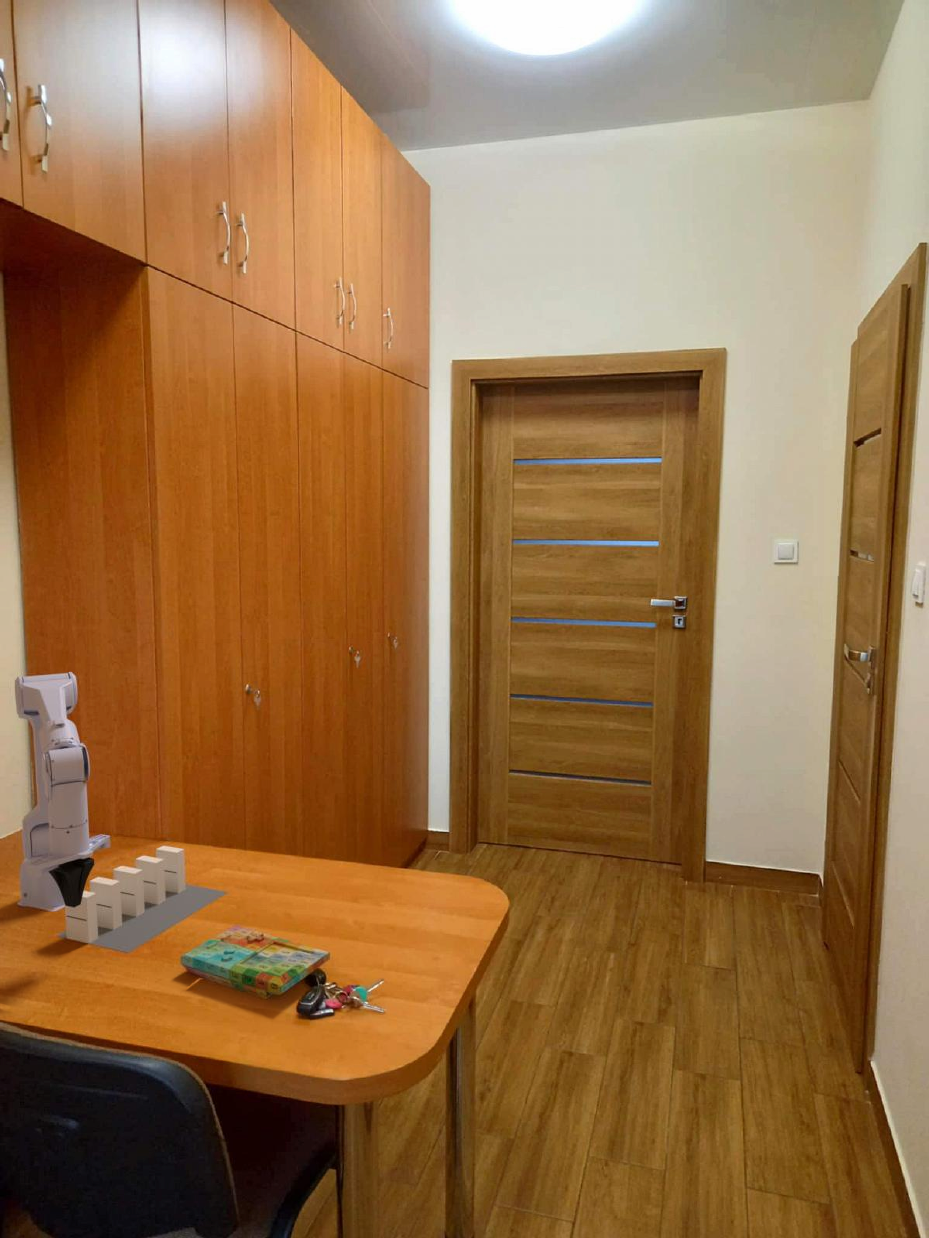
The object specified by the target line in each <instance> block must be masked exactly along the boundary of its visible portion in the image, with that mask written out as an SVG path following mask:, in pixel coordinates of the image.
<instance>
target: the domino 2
mask: <svg viewBox="0 0 929 1238" xmlns="http://www.w3.org/2000/svg"><path fill="white" fill-rule="evenodd" d="M89 892H93V893H96V905H97V925H98V926H99V927H104V928H108V929H112V930H114V929H116V928H118V927H119V926H121V925H122V910H121V889H120V881H117V880H114V879H111V878H106V877H101V876H97V877H95V878H93V879H91V880H89Z"/></svg>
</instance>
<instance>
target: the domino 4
mask: <svg viewBox="0 0 929 1238" xmlns="http://www.w3.org/2000/svg"><path fill="white" fill-rule="evenodd" d="M135 868H136V869H141V870H143V886H144V902H147V903H152V904H157V905H159V904H160V903H162V902H164V901H166V896H165V872H164V859H160V858H157V857H155V856H154V857H153V856H148V855H141V856H139V857H137V858H135Z"/></svg>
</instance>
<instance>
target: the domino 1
mask: <svg viewBox="0 0 929 1238" xmlns="http://www.w3.org/2000/svg"><path fill="white" fill-rule="evenodd" d="M64 912H65V929H66V930H65V931H66V934H67V940H71V939H72V940H71V941H75V940H76V941H75V942H79V941H80V943H83V942H84V944H88V943H91V942H93V941H95V940H96V939H98V925H97V905H96V893H93V892H90V891H87V890H84V892H83V896H82V901H81V905H79V906H77V907H74V908H73V907H69V906H65V907H64Z"/></svg>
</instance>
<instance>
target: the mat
mask: <svg viewBox="0 0 929 1238" xmlns="http://www.w3.org/2000/svg"><path fill="white" fill-rule="evenodd" d="M185 886H186V889H185V890H183V891H182V892H180V893H175V892H170V891H165V896H166V901H164V902H162V903H160V904H159V905H157V904H152V903H147V902H144V909H145V912H144V913H143V914H141V915H139V916H137V917H135V916H131V915H126V914H122V925H121V926H119V927H118V928H116V929H114V930H112V929H108V928H104V927H99V926H98V939H96V940H95V941H93V942H91V943H87V944H89V945H93V946H96V947H100V948H105V949H109V950H114V951H117V952H118V951H119V952H121V953H126V954H130V953H131V952H133V951H134V950H136V949H138V948H139V947H142V946H143V945H144V944H147V943H148V942H149V941H151V940H153V939H154V938H156V937H157V936H159V935H161V934H162V933H164V932H166V931H167V930H169V929H171V928H172V927H174V926H176V925H177V924H180V923H181V922H182V921H184V920H185V919H187V918H189V917H190V916H192V915H194V914H195V913H197V912H198V911H201V910H202V909H203V908H205V907H207V906H209V905H210V904H211V903H213V902H216V900H218V899H219V898H222V897H223V896H225V895H227V894H228V893H229V892H228V891H223V890H219V889H213V888H207V887H203V886H197V885H193V884H188V883H187V884H186V883H185ZM55 937H58V938H63V939H65V940H66V939H67V934H66V930H64V931H62V932H61V933H59V934H56V935H55ZM67 940H68V939H67ZM70 940H71V941H73V940H72V939H70ZM74 942H77V941H76V940H74ZM78 942H80V941H78ZM80 943H81V942H80ZM82 943H84V942H82ZM84 944H85V943H84Z"/></svg>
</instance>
